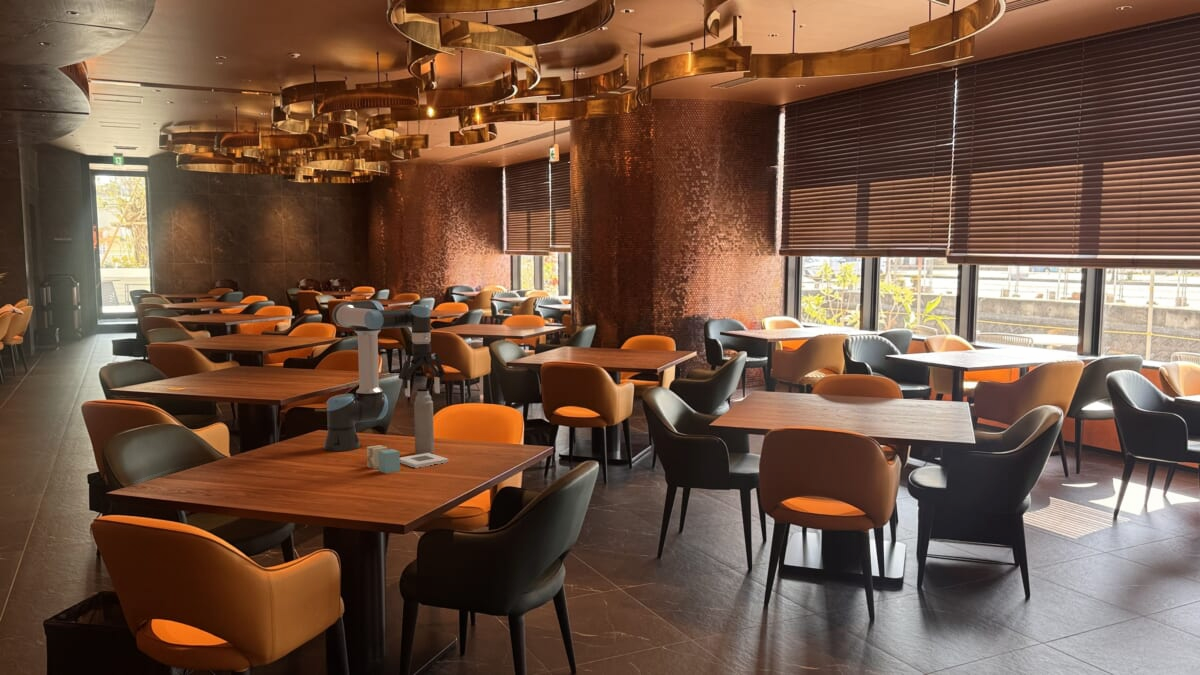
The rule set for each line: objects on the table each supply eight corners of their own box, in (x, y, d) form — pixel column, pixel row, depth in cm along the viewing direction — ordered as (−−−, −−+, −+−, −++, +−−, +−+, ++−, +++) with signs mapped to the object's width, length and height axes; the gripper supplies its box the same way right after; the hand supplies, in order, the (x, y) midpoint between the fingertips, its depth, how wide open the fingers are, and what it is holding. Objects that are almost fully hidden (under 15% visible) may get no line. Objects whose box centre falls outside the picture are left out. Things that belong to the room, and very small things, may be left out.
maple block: (367, 466, 362) (366, 447, 361) (381, 464, 366) (380, 445, 365) (374, 469, 357) (373, 449, 357) (388, 466, 361) (387, 447, 361)
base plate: (396, 461, 370) (396, 457, 370) (428, 456, 380) (428, 452, 380) (415, 468, 358) (415, 464, 358) (448, 462, 368) (448, 458, 368)
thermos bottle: (435, 450, 391) (434, 387, 388) (431, 454, 383) (430, 389, 380) (417, 450, 391) (415, 387, 388) (413, 454, 383) (411, 389, 380)
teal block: (378, 471, 354) (378, 451, 354) (392, 468, 358) (392, 448, 358) (386, 473, 350) (385, 453, 349) (400, 471, 354) (399, 451, 353)
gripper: (398, 345, 354) (399, 398, 356) (452, 341, 370) (453, 392, 372) (389, 344, 360) (390, 396, 362) (443, 340, 376) (444, 390, 378)
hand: (422, 394), depth 367 cm, fingers open, 13 cm apart
